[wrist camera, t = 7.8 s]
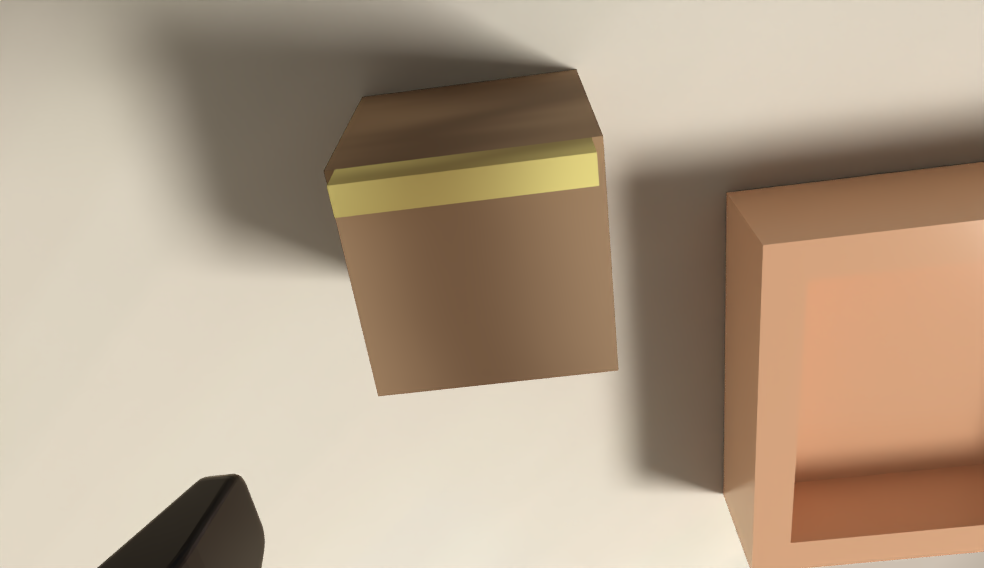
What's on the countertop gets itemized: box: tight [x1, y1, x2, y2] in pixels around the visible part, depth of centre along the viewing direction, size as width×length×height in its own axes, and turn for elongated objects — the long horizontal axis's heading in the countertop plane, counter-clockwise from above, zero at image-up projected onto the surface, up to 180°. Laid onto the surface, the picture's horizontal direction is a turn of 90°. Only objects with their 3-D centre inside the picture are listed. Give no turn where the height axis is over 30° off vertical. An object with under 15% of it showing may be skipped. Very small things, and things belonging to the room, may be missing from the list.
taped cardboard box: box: [324, 69, 618, 396], centre depth 17 cm, size 5×5×6 cm
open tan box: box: [724, 162, 984, 568], centre depth 21 cm, size 10×10×3 cm
